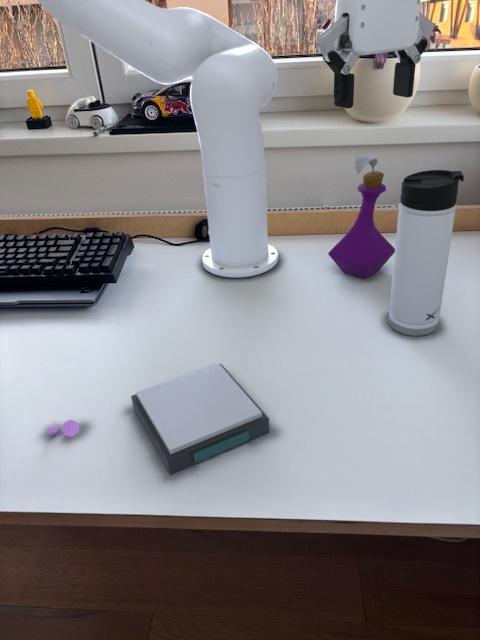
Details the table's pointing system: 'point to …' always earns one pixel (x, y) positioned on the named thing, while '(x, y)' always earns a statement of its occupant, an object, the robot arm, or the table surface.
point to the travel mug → (422, 250)
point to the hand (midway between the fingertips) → (373, 101)
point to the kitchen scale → (198, 416)
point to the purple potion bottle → (364, 230)
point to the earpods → (66, 428)
